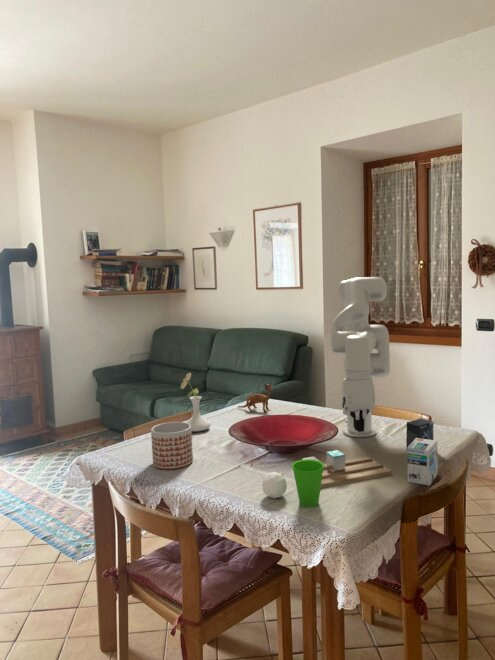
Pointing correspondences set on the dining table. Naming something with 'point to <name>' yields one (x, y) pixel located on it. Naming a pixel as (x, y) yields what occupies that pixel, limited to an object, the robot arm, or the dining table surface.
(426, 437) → the box
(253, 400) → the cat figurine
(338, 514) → the dining table surface
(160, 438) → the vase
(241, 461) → the dining table surface
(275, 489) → the ornament
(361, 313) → the robot arm
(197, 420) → the flower in vase
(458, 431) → the dining table surface
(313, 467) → the cup
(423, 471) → the light bulb box
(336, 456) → the block
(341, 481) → the gauge board
